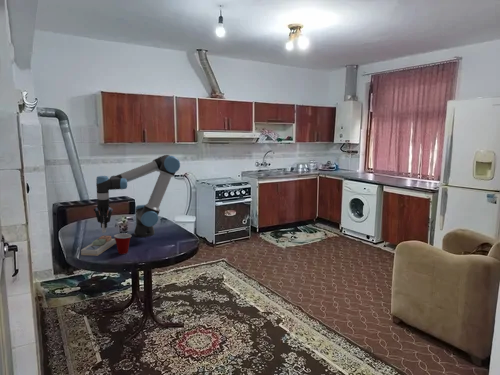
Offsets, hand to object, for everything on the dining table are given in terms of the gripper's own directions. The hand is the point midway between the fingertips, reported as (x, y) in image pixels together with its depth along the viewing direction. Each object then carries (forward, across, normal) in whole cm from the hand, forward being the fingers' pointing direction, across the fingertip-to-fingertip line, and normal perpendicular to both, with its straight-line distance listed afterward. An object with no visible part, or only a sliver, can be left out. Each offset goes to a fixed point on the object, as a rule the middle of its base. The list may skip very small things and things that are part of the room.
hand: (104, 232), depth 238 cm
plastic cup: (+9, -19, +13) cm, 25 cm away
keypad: (+9, 0, +8) cm, 12 cm away
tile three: (+8, 0, +16) cm, 18 cm away
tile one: (+6, 0, 0) cm, 6 cm away
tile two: (+6, 0, +8) cm, 10 cm away
